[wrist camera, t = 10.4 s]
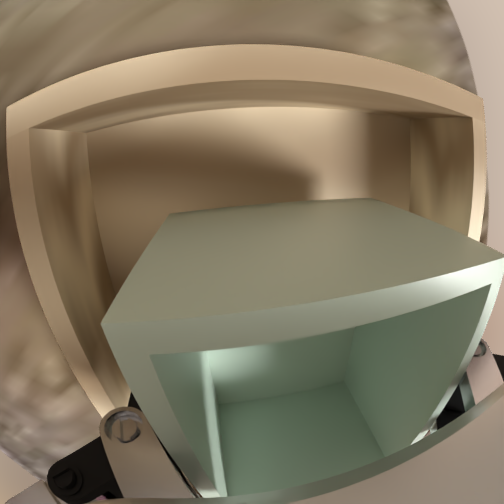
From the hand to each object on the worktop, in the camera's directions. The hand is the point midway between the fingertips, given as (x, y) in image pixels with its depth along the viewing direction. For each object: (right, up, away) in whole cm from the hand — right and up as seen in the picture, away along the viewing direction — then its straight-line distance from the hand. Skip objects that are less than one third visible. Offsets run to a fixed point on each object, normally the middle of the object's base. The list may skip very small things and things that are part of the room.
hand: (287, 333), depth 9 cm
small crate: (0, 0, +1) cm, 1 cm away
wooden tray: (0, +1, +4) cm, 4 cm away
